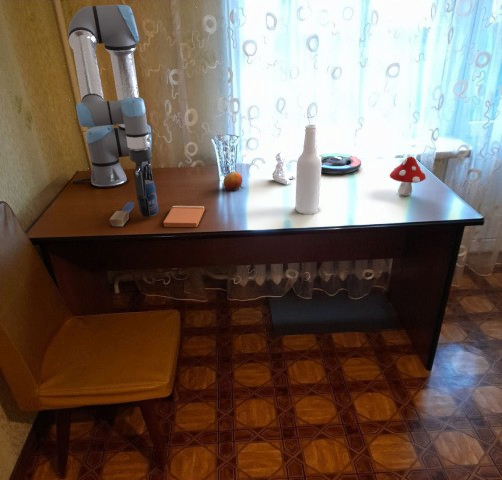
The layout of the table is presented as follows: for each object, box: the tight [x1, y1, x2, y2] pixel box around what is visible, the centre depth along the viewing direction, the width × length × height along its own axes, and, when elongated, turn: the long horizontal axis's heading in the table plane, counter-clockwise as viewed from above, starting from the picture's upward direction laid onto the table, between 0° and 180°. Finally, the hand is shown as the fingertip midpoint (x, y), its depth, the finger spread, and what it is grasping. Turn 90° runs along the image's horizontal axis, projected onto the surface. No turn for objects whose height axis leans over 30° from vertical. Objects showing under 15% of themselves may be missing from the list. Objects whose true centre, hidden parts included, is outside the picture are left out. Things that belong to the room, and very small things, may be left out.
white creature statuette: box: [271, 151, 294, 185], centre depth 205 cm, size 10×9×12 cm
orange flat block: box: [162, 205, 205, 228], centre depth 177 cm, size 12×16×2 cm
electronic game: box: [318, 153, 362, 175], centre depth 221 cm, size 23×23×5 cm
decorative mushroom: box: [389, 156, 427, 197], centre depth 188 cm, size 14×14×15 cm
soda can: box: [137, 179, 159, 217], centre depth 174 cm, size 7×7×12 cm
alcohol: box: [295, 124, 322, 215], centre depth 173 cm, size 9×9×30 cm
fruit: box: [223, 171, 243, 192], centre depth 200 cm, size 8×8×8 cm
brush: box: [109, 201, 135, 227], centre depth 179 cm, size 5×18×3 cm, turn 174°
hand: (149, 212), depth 177 cm, fingers closed on soda can, 7 cm apart
